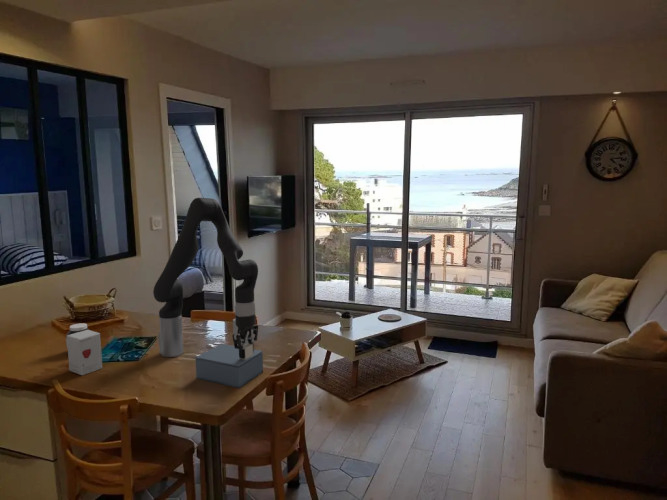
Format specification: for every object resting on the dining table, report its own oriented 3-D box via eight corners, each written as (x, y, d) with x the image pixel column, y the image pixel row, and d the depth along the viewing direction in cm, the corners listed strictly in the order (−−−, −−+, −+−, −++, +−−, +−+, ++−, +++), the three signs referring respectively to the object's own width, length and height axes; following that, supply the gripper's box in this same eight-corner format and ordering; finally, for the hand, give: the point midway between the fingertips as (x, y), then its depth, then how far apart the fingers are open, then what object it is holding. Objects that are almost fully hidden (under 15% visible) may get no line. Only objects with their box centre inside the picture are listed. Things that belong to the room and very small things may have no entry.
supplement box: (81, 376, 185) (78, 339, 183) (68, 371, 190) (65, 335, 188) (103, 368, 193) (100, 332, 191) (90, 363, 198) (87, 329, 195)
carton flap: (195, 358, 182) (194, 345, 181) (221, 345, 196) (221, 333, 196) (238, 367, 174) (238, 353, 173) (262, 352, 188) (262, 340, 187)
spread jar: (87, 345, 218) (85, 321, 216) (100, 350, 212) (98, 325, 210) (60, 353, 208) (57, 328, 207) (72, 359, 202) (70, 333, 200)
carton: (196, 378, 183) (195, 358, 182) (222, 363, 198) (221, 345, 196) (239, 388, 175) (238, 367, 174) (263, 372, 190) (262, 353, 188)
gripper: (247, 306, 187) (249, 347, 190) (225, 316, 174) (226, 360, 177) (264, 309, 184) (265, 350, 187) (242, 319, 171) (243, 363, 174)
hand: (246, 355), depth 182 cm, fingers closed on carton flap, 5 cm apart
